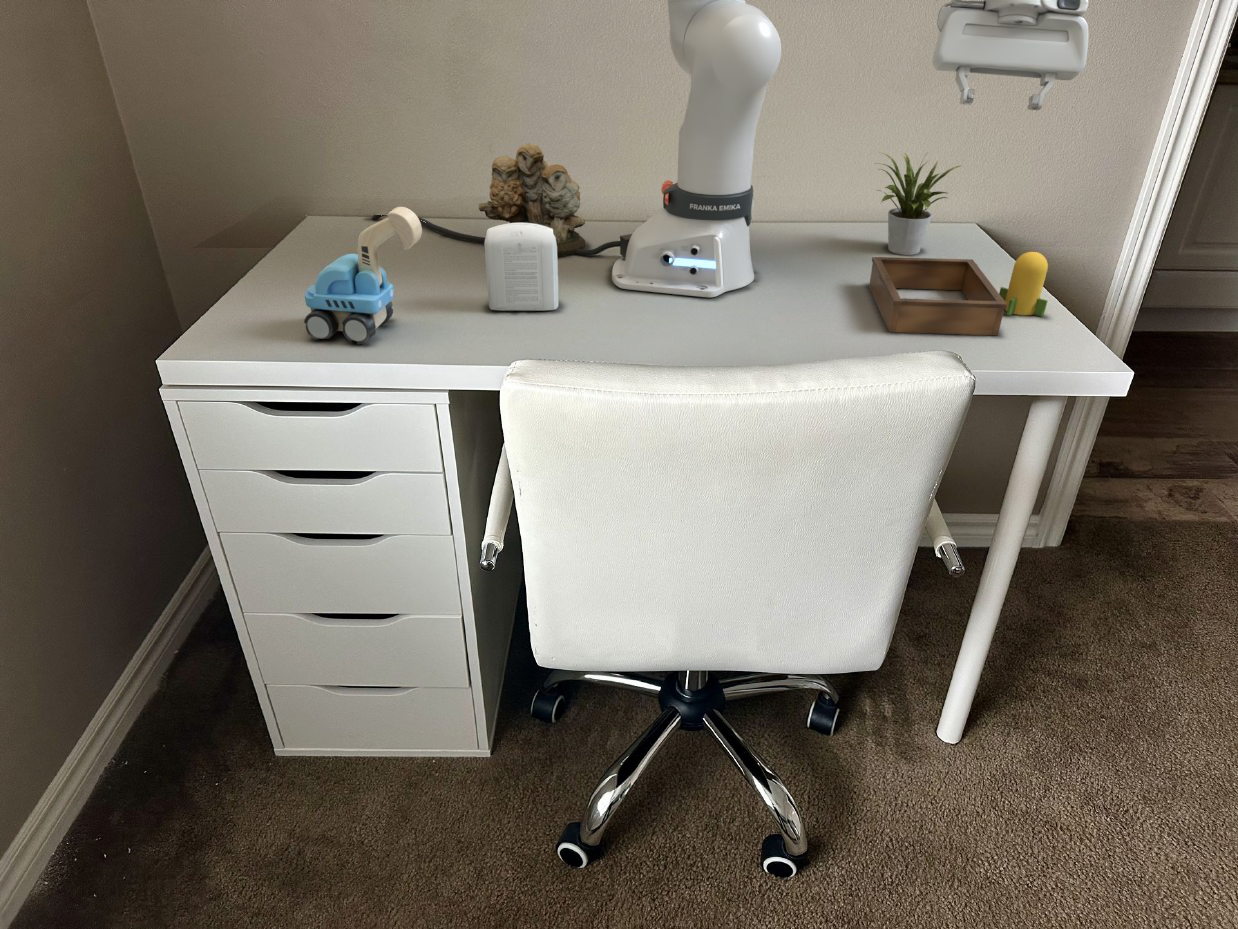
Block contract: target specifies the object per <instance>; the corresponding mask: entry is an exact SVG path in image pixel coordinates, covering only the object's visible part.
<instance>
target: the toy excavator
mask: <svg viewBox="0 0 1238 929" xmlns="http://www.w3.org/2000/svg"><path fill="white" fill-rule="evenodd" d="M391 210H392V211H390V212H389V213H387V216H386V218H384V219H382V220H379V221H378V222H375V223H374V224H372V225H370V226H368V227H366V228H364V230H362V231H361V232H360V233H359V236H358V239H357V254H356V253H347V254H344V255H341V256H340V257H338V258H336V259H335V260H333V261H332V262H330V263H329V264H328V265H327V266H325V267H323V268H322V269H321V270H320V271H319V273H318V274H317V277H316V280H315V283H313V284H311V285H310V286H309V287H308V289H307V290H305V292H304V299H305V300H304V301H305V305H306V307H308V308H310V312H309V313H308V314H307V315H306V316H305V318H304V321H303V323H304V324H305V331H306V332H307V334H308V336H310V337H311V338H312V339H314V340H317V341H319V340H328V339H330V338H332V336H334V335H335V334H336V333H337V332H342V335H343V336H344V337H345V338H346V339H347V340H349V342H350V343H351V342H352V341H355V342H356V345H364V344H366V343H367V342H368V341H369V340H370V339H371V338H372V337H373V336H374V335H375V334H376V330H377V329H378V328H379V327H380V326H383V325H385V324H386V323H387V322H388V321H389V320H390V319H391V318H392V317H393V314H394V309H393V302H392V300H393V299H395V291H394V285H393V283H390V282H388V277H387V273H386V270H385V269H384V268H383V267H382V266H380V260H379V254H378V247H379V246H380V245H381V244H383V243H384V242H386V241H387V240H388V239H390V238H391V237H393V236H395V235H397V236H398V238H399V240H400V242H401V243H402V248H403V249H404V250H405V251H407V250H409V249H410V248H412V247H413V246H415V244H416V243H418V242H419V241H420V239H421V237H422V234H423V227H422V224H421V223H420V221H419V219H418V217H419V216H417V214H416V213H415V212H414V211H412V210H411V209H410V208H407V207H405V206H397V207H395V208H393V209H391Z"/></svg>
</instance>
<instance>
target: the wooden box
mask: <svg viewBox="0 0 1238 929" xmlns="http://www.w3.org/2000/svg"><path fill="white" fill-rule="evenodd" d="M871 261H872V264H871V266H872V267H871V272H870V278H869V279H870V280H869V283H868V284H869V285H868V286H869V289H870V291H871V293H872V296H873V298H874V300H875V302H876V305H877V307H878V309H879V311H880V314H881V316H882V318H883V321H884V323H885V325H886V328H887V330H888V332H889V333H904V334H905V333H906V334H910V333H911V334H937V335H969V336H999V332H1000V328H1001V324H1002V320H1003V316H1004V313H1005V308H1006V307H1007V304H1006V302H1005V301H1004V300H1003V298H1002V297H1001V296H1000V294H999V293H1000V292H999V291H997V289H996V288H995V286H994V285H993V284H992V283H991V282H990V280H989V279H988V278H987V276H986V275H985V274H984V272H983V271H982V270H981V268H980V267H979V265H978V264H977V263H976V261H975V260H974V259H970V258H969V259H968V258H967V259H965V258H936V257H935V258H931V257H897V256H896V257H895V256H894V257H891V256H872V258H871ZM897 289H902V290H903V289H905V290H907V289H909V290H941V291H942V290H944V291H961V292H962V293H963V294H964V296H965V297H966V299H965V300H964V299H937V298H936V299H935V298H933V299H932V298H904V297H903V298H902V297H901V296H900V295H899V292H898V291H897Z"/></svg>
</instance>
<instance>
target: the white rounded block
mask: <svg viewBox="0 0 1238 929" xmlns="http://www.w3.org/2000/svg"><path fill="white" fill-rule="evenodd" d="M507 223H508V224H507ZM507 223H503V224H499V225H495V226H491V227H489V228H487V229H486V230H487V231H486V235H485V243H483V244H484V257H485V258H484V259H485V272H486V287H487V288H486V289H487V300H488V308H489V309H490V310H491V311H555V310H557V309H558V308H559V305H560V304H559V302H560V301H559V268H558V267H559V266H558V262H559V261H558V257H557V243H556V238H555V236H554V234H553V229H551V228H549V227H546V226H543V225H538V224H533V223H510V222H507Z"/></svg>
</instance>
